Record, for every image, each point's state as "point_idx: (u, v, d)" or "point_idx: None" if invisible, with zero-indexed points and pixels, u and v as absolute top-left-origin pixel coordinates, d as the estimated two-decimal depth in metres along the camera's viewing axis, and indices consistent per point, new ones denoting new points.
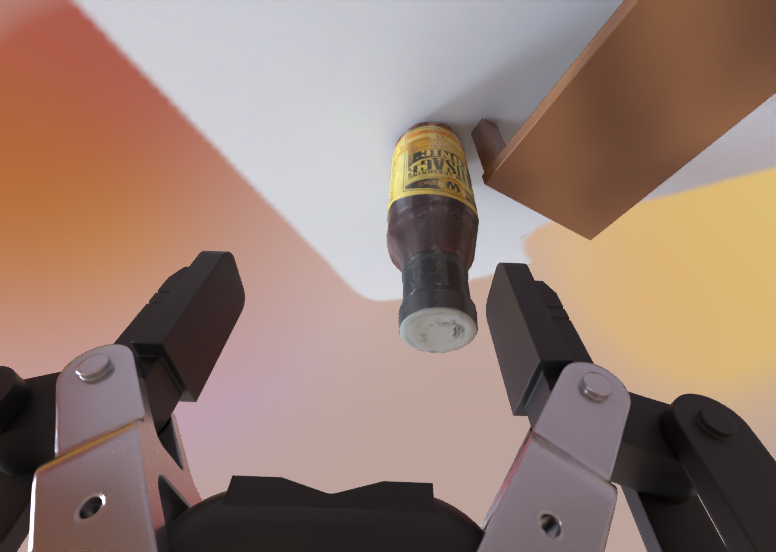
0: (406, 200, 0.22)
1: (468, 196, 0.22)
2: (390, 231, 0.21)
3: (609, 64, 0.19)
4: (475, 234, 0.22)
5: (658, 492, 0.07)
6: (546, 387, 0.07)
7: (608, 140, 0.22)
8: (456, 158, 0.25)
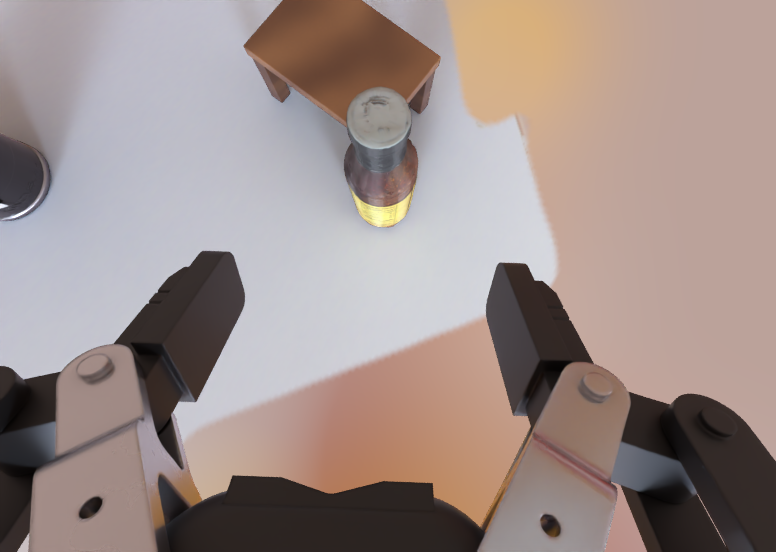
0: (349, 184, 0.29)
1: None
2: (361, 191, 0.27)
3: (305, 76, 0.34)
4: None
5: (658, 493, 0.07)
6: (546, 387, 0.07)
7: (352, 65, 0.34)
8: None
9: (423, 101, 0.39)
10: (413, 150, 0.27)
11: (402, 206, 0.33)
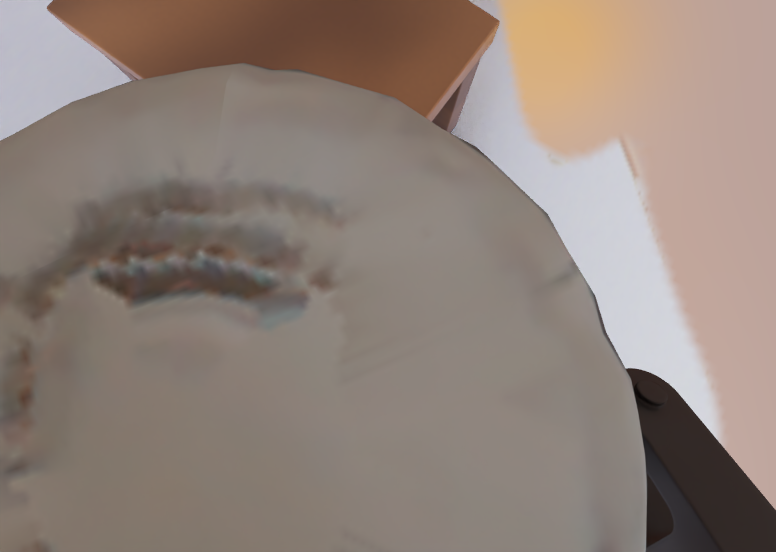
0: None
1: None
2: None
3: None
4: None
5: None
6: None
7: (295, 45, 0.15)
8: None
9: (451, 119, 0.20)
10: None
11: None
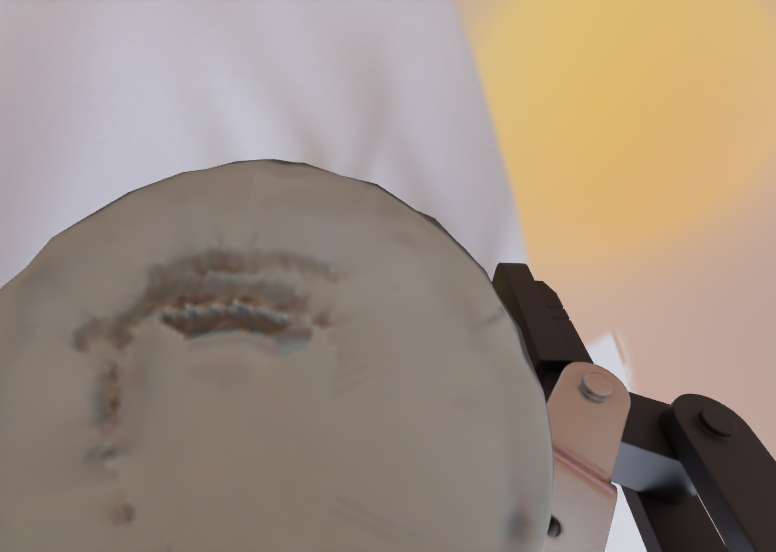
0: None
1: None
2: None
3: None
4: None
5: (659, 493, 0.07)
6: (546, 387, 0.07)
7: None
8: None
9: None
10: None
11: None
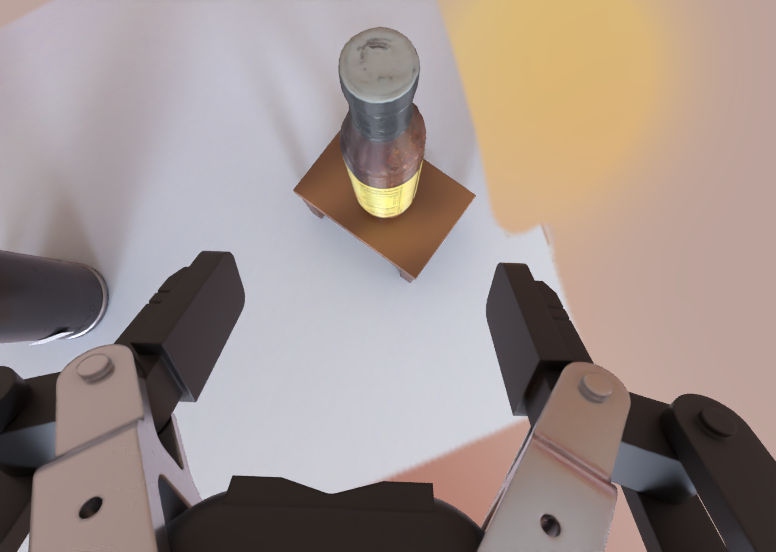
0: (346, 161, 0.25)
1: None
2: (359, 167, 0.23)
3: (351, 217, 0.36)
4: None
5: (658, 493, 0.07)
6: (546, 387, 0.07)
7: None
8: None
9: None
10: (420, 118, 0.23)
11: (407, 189, 0.28)
